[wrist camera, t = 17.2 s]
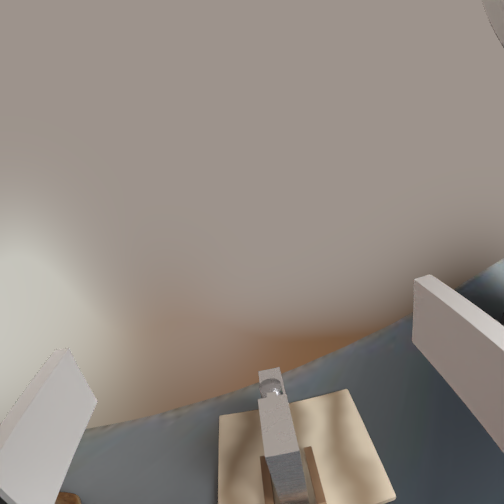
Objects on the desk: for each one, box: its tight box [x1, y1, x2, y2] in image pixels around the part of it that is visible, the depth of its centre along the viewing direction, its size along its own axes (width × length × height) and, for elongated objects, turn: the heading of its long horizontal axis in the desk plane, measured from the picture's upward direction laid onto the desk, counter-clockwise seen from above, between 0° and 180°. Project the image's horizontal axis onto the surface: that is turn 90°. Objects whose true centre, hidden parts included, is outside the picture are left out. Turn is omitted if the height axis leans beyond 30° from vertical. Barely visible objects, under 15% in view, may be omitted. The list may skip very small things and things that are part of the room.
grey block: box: [258, 378, 309, 504], centre depth 30 cm, size 3×11×12 cm, turn 4°
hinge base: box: [218, 389, 396, 504], centre depth 35 cm, size 20×21×2 cm
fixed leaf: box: [259, 367, 286, 394], centre depth 39 cm, size 3×10×8 cm, turn 4°
